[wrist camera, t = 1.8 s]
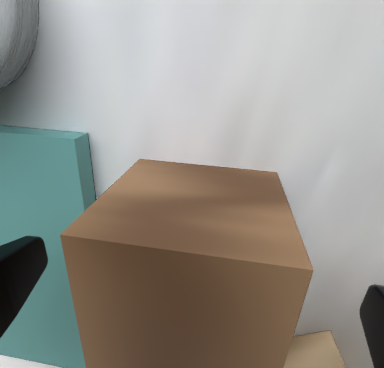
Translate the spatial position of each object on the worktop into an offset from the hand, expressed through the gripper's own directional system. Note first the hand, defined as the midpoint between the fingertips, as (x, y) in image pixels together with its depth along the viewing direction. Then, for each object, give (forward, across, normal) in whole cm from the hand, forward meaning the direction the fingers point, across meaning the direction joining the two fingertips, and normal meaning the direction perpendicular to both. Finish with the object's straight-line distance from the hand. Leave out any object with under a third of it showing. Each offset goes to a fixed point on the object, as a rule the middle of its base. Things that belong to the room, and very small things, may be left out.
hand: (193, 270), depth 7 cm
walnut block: (+2, 0, 0) cm, 3 cm away
